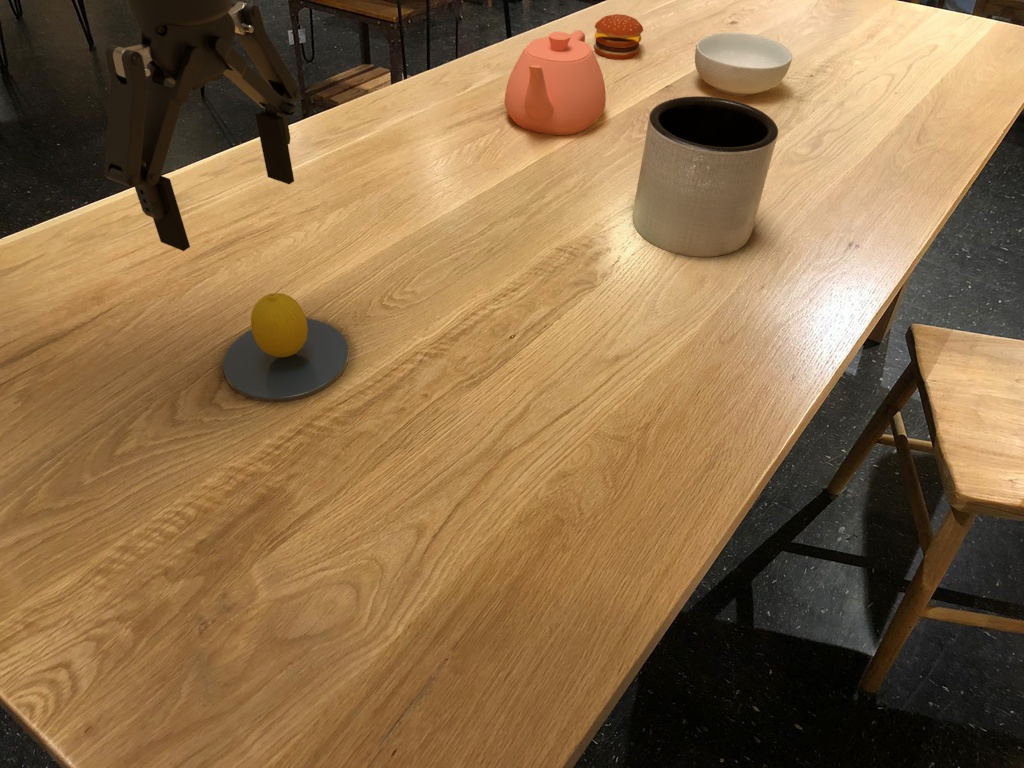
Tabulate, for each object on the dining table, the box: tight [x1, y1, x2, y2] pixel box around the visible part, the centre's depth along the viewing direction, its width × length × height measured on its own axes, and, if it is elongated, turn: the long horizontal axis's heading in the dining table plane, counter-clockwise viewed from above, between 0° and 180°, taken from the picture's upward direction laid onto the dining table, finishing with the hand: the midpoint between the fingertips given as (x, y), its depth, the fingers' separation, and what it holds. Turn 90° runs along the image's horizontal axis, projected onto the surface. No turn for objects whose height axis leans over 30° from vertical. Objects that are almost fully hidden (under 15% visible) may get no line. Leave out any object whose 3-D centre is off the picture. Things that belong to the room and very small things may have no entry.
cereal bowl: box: [694, 32, 793, 97], centre depth 139 cm, size 17×17×7 cm
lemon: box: [250, 292, 308, 357], centre depth 79 cm, size 6×6×8 cm
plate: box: [222, 318, 350, 403], centre depth 82 cm, size 13×13×2 cm
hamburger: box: [593, 13, 644, 60], centre depth 151 cm, size 9×10×7 cm
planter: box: [632, 95, 779, 258], centre depth 99 cm, size 16×16×16 cm
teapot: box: [504, 29, 607, 136], centre depth 125 cm, size 25×17×13 cm
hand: (231, 210), depth 71 cm, fingers open, 13 cm apart
